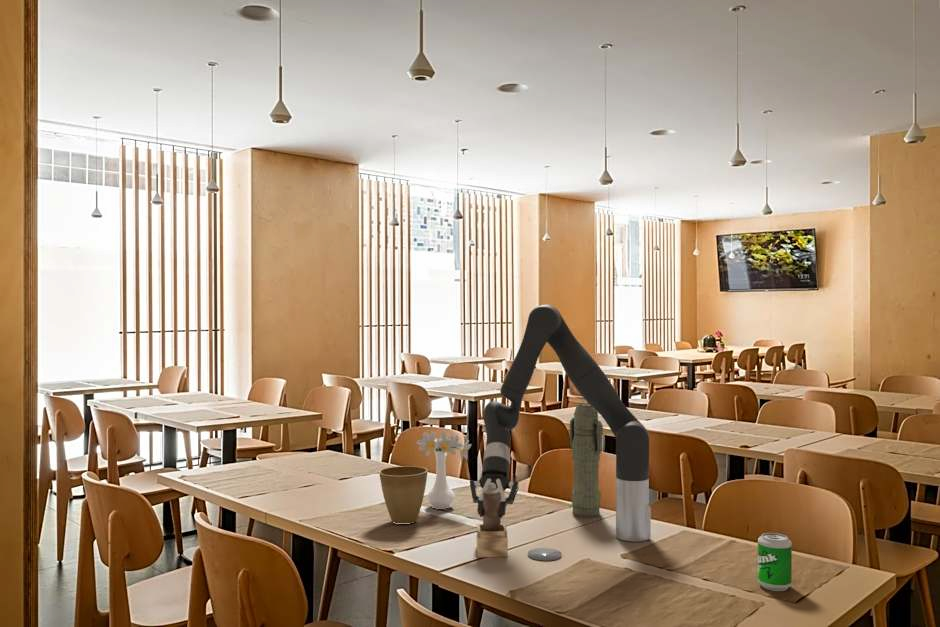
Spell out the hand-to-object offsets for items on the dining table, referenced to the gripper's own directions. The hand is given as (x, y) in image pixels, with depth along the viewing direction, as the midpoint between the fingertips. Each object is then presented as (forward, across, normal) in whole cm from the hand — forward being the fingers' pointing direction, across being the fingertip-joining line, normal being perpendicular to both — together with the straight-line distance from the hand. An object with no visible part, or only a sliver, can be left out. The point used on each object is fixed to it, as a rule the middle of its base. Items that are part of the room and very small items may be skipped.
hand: (491, 515), depth 212 cm
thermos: (-24, +25, +39) cm, 52 cm away
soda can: (+18, +70, -3) cm, 72 cm away
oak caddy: (+6, 0, +9) cm, 10 cm away
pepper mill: (+2, 0, +5) cm, 6 cm away
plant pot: (-12, -31, +26) cm, 42 cm away
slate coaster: (+7, +14, +8) cm, 18 cm away
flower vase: (-25, -22, +40) cm, 52 cm away
